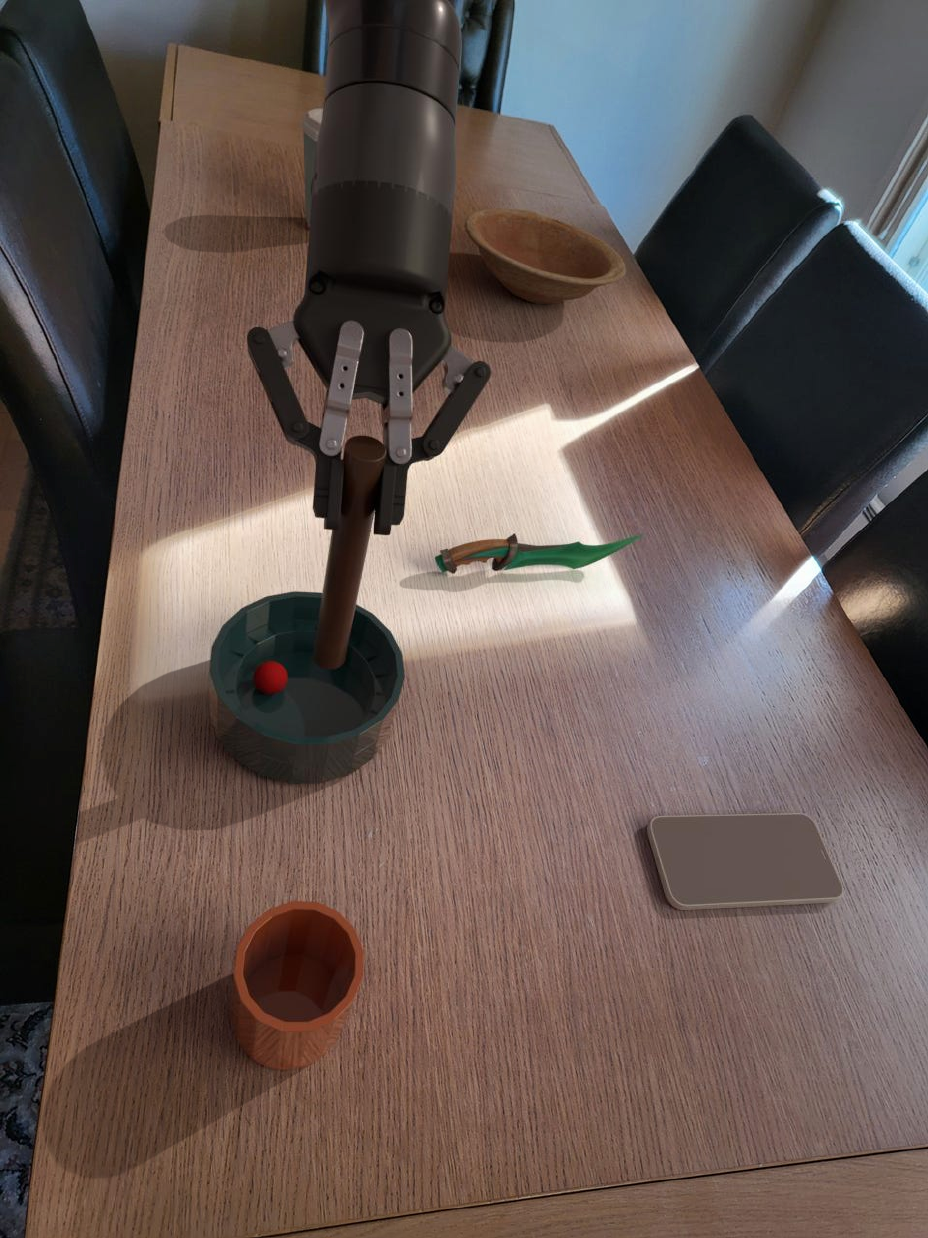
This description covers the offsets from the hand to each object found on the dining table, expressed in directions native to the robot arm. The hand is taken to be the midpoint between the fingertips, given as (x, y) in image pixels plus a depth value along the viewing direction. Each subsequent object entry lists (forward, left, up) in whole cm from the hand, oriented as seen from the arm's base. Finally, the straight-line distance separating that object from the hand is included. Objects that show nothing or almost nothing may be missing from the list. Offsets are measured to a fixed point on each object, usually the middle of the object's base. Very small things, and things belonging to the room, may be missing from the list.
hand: (357, 530), depth 45 cm
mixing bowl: (+1, +5, -24) cm, 25 cm away
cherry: (-1, +7, -22) cm, 24 cm away
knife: (+28, +14, -25) cm, 40 cm away
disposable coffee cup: (+32, +84, -25) cm, 93 cm away
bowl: (+57, +66, -25) cm, 90 cm away
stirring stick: (+1, +2, -14) cm, 14 cm away
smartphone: (+29, -19, -24) cm, 42 cm away
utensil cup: (-7, -16, -24) cm, 30 cm away
